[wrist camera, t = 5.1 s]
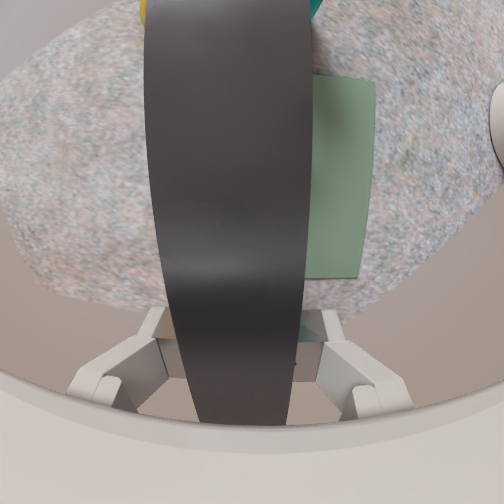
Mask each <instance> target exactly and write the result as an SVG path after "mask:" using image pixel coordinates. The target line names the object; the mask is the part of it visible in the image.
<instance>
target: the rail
mask: <svg viewBox="0 0 504 504" xmlns="http://www.w3.org/2000/svg"><path fill="white" fill-rule="evenodd" d="M144 110H145V131H146V146H147V159H148V170H149V181H150V190H151V199H152V207H153V215H154V222H155V229H156V236H157V243H158V249H159V255H160V261H161V267H162V272H163V278H164V283H165V288H166V293H167V298H168V303H169V308H170V313H171V317H172V322H173V326H174V331H175V335H176V339H177V343H178V347H179V351H180V355H181V359H182V363H183V367H184V370H185V374H186V378H187V381H188V385H189V388H190V392H191V395H192V399H193V402H194V405H195V409H196V412H197V415H198V418H199V421H200V422H201V423H212V424H226V425H251V426H281V425H286V419H287V414H288V407H289V401H290V395H291V388H292V381H293V374H294V367H295V360H296V352H297V344H298V336H299V328H300V319H301V310H302V300H303V290H304V280H305V269H306V257H307V244H308V230H309V214H310V196H311V173H312V140H313V66H312V36H311V16H310V0H147V3H146V17H145V36H144Z"/></svg>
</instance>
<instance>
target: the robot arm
mask: <svg viewBox="0 0 504 504" xmlns="http://www.w3.org/2000/svg"><path fill="white" fill-rule="evenodd" d="M490 130H491V137H492V141H493V145H494V148H495V151H496V154H497V156H498V158H499V160H500V162H501V163H502V165H503V167H504V82H503V83H501V84H500V85H498V87H497V88H496V89H495V91H494V93H493V96H492V100H491V105H490ZM168 377H171V378H185V379H187V378H186V374H185V370H184V367H183V363H182V359H181V355H180V351H179V347H178V343H177V339H176V335H175V331H174V326H173V322H172V317H171V313H170V308H169V307H163V306H153V307H151V308H150V310H149V312H148V314H147V316H146V318H145V320H144V322H143V324H142V326H141V328H140V330H139V332H138V334H137V336H131V337H130V338H128V339H126V340H125V341H123V342H122V343H120V344H118V345H117V346H115V347H113V348H112V349H110V350H109V351H107V352H105V353H104V354H102V355H101V356H99V357H97V358H96V359H94V360H92V361H91V362H89V363H87V364H86V365H84V366H82V367H81V368H80V369H79V370H78V372H77V374H76V376H75V377H74V379H73V381H72V383H71V385H70V386H69V388H68V390H67V392H66V394H62V393H59V392H56V391H53V390H51V389H48V388H45V387H42V386H40V385H37V384H35V383H32V382H29V381H27V380H25V379H22V378H20V377H17V376H15V375H13V374H11V373H8V372H6V371H4V370H2V369H0V504H504V380H502V381H499V382H497V383H494V384H492V385H489V386H487V387H484V388H481V389H479V390H476V391H473V392H470V393H467V394H464V395H461V396H458V397H455V398H452V399H449V400H446V401H442V402H438V403H435V404H431V405H427V406H423V407H420V408H415V409H414V406H413V404H412V401H411V399H410V396H409V394H408V391H407V388H406V386H405V383H404V381H403V379H402V378H400V377H399V376H398V375H397V374H395V373H394V372H392V371H391V370H390V369H388V368H387V367H386V366H384V365H383V364H382V363H380V362H379V361H377V360H376V359H375V358H373V357H371V355H369V354H368V353H366V352H365V351H364V350H362V349H361V348H360V347H358V346H357V345H356V344H354V343H353V342H351V341H346V339H345V336H344V333H343V330H342V327H341V324H340V321H339V318H338V315H337V312H336V310H335V309H334V308H331V309H319V310H301V319H300V328H299V336H298V344H297V352H296V360H295V367H294V374H293V381H292V382H315V383H316V384H317V385H318V386H319V388H320V389H321V390H322V391H323V392H324V393H325V394H326V396H327V397H328V398H329V399H330V400H331V401H332V402H333V403H334V405H335V406H336V407H337V408H338V409H339V410H340V411H341V412H342V415H341V418H340V419H339V422H331V423H320V424H306V425H281V426H251V425H226V424H212V423H201V422H191V421H183V420H175V419H168V418H162V417H155V416H149V415H144V414H139V413H138V411H137V408H138V407H139V406H140V405H141V404H142V403H144V401H145V400H147V399H148V398H149V397H150V396H151V395H152V394H153V393H154V392H155V391H156V390H157V389H158V388H159V387H160V386H161V385H162V384H164V383H165V381H167V380H168V379H169V378H168Z"/></svg>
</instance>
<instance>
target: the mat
mask: <svg viewBox="0 0 504 504" xmlns="http://www.w3.org/2000/svg"><path fill="white" fill-rule="evenodd" d="M374 129H375V82H371V81H365V80H359V79H352V78H345V77H337V76H327V75H317V74H313V140H312V173H311V196H310V214H309V230H308V244H307V257H306V269H305V278H355V277H358V273H359V267H360V262H361V256H362V250H363V243H364V237H365V230H366V222H367V215H368V206H369V198H370V188H371V177H372V165H373V150H374Z"/></svg>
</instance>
